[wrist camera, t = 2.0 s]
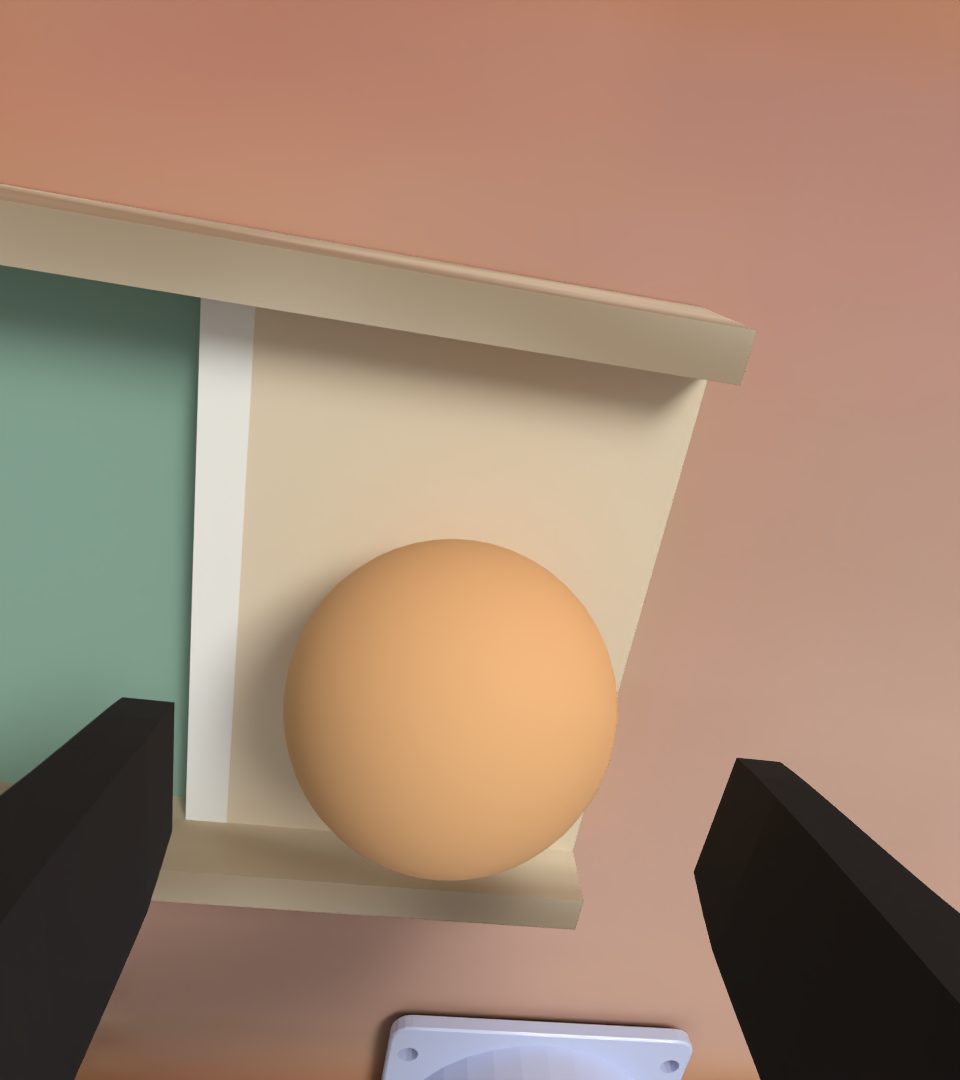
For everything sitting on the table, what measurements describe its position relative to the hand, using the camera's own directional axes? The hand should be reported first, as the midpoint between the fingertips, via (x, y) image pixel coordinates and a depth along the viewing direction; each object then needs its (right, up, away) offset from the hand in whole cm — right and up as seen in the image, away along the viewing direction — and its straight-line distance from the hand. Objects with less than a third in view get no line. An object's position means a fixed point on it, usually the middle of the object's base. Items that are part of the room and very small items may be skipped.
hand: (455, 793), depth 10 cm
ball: (0, +2, +4) cm, 5 cm away
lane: (-5, +3, +5) cm, 8 cm away
